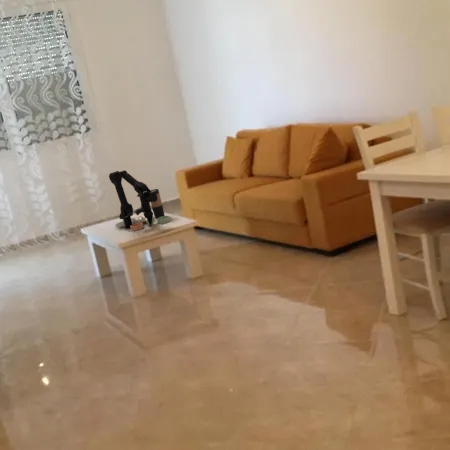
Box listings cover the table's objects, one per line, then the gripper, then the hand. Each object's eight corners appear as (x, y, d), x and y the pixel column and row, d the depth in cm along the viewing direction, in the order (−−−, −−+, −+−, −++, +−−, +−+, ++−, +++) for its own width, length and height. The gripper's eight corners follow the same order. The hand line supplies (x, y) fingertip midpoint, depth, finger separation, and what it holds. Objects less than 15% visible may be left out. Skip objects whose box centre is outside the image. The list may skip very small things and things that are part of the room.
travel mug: (154, 217, 505) (148, 190, 501) (164, 214, 506) (158, 188, 501) (154, 219, 498) (148, 192, 493) (165, 217, 498) (158, 190, 494)
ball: (146, 226, 484) (144, 219, 482) (152, 223, 486) (150, 217, 485) (149, 226, 479) (147, 219, 478) (155, 224, 482) (153, 217, 481)
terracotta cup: (129, 229, 483) (128, 225, 482) (139, 226, 487) (138, 222, 486) (134, 231, 476) (133, 226, 475) (145, 227, 480) (144, 223, 479)
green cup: (156, 223, 485) (155, 219, 485) (166, 219, 489) (165, 215, 489) (161, 224, 478) (160, 219, 478) (171, 220, 483) (170, 216, 482)
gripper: (132, 202, 487) (138, 224, 490) (134, 207, 469) (140, 229, 472) (148, 198, 488) (153, 220, 492) (150, 203, 470) (156, 225, 474)
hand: (150, 223), depth 482 cm, fingers closed on ball, 5 cm apart
